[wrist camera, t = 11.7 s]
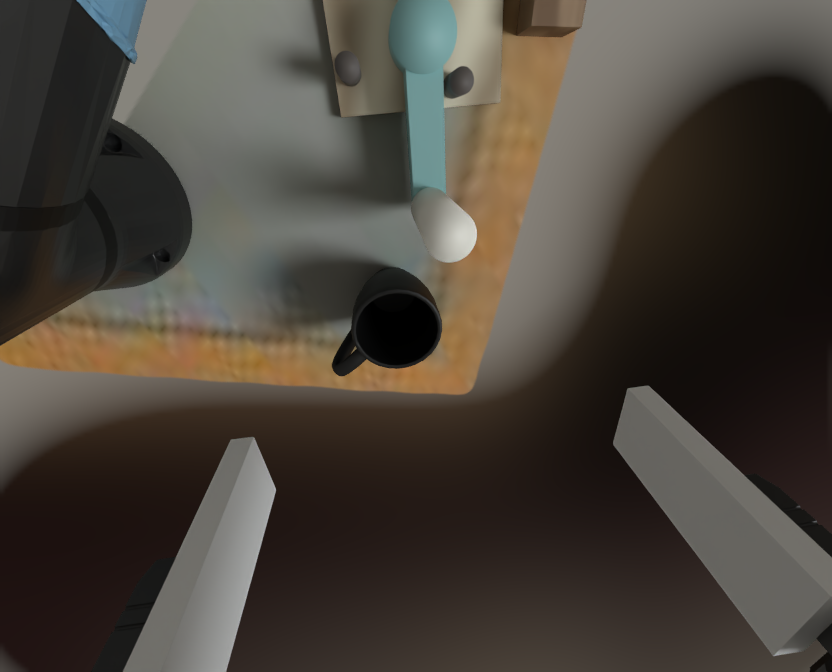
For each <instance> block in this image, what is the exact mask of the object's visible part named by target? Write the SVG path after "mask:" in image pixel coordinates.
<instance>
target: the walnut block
mask: <svg viewBox="0 0 832 672" xmlns="http://www.w3.org/2000/svg"><path fill="white" fill-rule="evenodd" d="M585 5H586V0H520V8H519V17H518V26H517V35H516V36H539V37H563V36H565V35H567V34H569V33H571V32H573V31H575V30H577V29H579V28H581V27H582V22H583V16H584V11H585Z"/></svg>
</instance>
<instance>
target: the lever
mask: <svg viewBox="0 0 832 672" xmlns="http://www.w3.org/2000/svg"><path fill="white" fill-rule="evenodd" d="M456 39H457V21H456V17H455V13H454V10H453V8H452V6H451V4H450V2H449V1H448V0H398V2H397V3H396V5H395V7H394V10H393V12H392V16H391V20H390V27H389V35H388V44H389V50H390V54H391V57H392V59H393V61H394V63H395V65H396V66H397V67H398V69H399V70H400V71H401V72H402V73H403V78H404V93H405V108H406V123H407V138H408V154H409V169H410V184H411V199H412V204H411V212H412V215H413V218H414V220H415V222H416V225H417V227H418V229H419V232H420V234H421V236H422V239H423V241H424V243H425V245H426V248H427V250H428V252H429V253H430V254H431V255H432V256H433V257H434V258H435V259H437V260H439V261H442V262H447V263H450V262H456V261H459V260H461V259H463V258H464V257H466V256H467V255H468V254H469V253H470V252H471V251H472V249H473V247H474V245H475V243H476V239H477V230H476V226H475V223H474V221H473V220H472V218H471V217H470V216H469V215H468V214H467V213H466V212H465V211H463V210H462V209H461V208H460V207H459V206H458V205H457V204H456V203H455V202H454V201H453V200H451V199H450V198H449V197H448V196H447V195H446V178H445V130H444V83H443V65H444V64H445V63H446V62H447V61H448V60H449V58H450V56H451V55H452V53H453V50H454V47H455V44H456Z"/></svg>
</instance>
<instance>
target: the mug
mask: <svg viewBox="0 0 832 672" xmlns="http://www.w3.org/2000/svg"><path fill="white" fill-rule="evenodd" d="M441 332H442V320H441V317H440V314H439V311H438V308H437V305H436V303H435V300H434V298H433V296H432V295H431V293H430V291H429V290H428V288H427V287H426V286H425V285H424V284H423V283H422V282H421V281H420V280H419V279H418V278H417V277H415V276H414V275H412V274H410V273H409V272H407V271H405V270H403V269H400V268H386V269H383V270H381V271H379V272H378V273H376V274H375V275H374V276H373V277H372V278H371V279H370V280H369V281H368V282H367V283H366V284H365V285H364V287H363V288H362V290H361V291H360V293H359V295H358V297H357V299H356V302H355V305H354V309H353V316H352V326H351V330H350V332H349V333H348V335H347V336H346V338H345V340H344V341H343V343H342V344H341V346H340V348H339V349H338V351H337V353H336V355H335V357H334V359H333V362H332V368H333V371H334V372H335V373H336V374H337V375H339V376H345V375H347V374H349V373H350V372H352V371H353V370H355V369H356V368H357V367H358V366H359V365H361V364H362V363H363V362H364V361H365V360H366V359H367V360H369V361H370V362H372V363H374V364H376V365H378V366H382V367H386V368H396V369H397V368H405V367H409V366H412V365H416V364H417V363H419V362H421V361H423V360H424V359H426V358H427V357H428V356H429V355H430V354H431V353H432V352H433V351H434V349H435V348H436V346H437V344H438V342H439V340H440V337H441ZM355 346H356V348H357V349H356V350H355V351H354V352H353V353H352V351H353V349H354V347H355ZM351 353H352V354H351ZM350 354H351V355H350Z"/></svg>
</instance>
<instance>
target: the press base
mask: <svg viewBox="0 0 832 672" xmlns="http://www.w3.org/2000/svg"><path fill="white" fill-rule="evenodd" d="M448 1H449V2H450V4H451V6H452V8H453V10H454V13H455V17H456V21H457V39H456V44H455V47H454V50H453V53H452V55H451V56H450V58H449V60H448V61H447V62H446V63H445V64H444V65H443V83H444V108H451V107H462V106H473V105H484V104H494V103H500V95H501V61H502V27H503V0H448ZM397 2H398V0H323V5H324V11H325V18H326V24H327V30H328V37H329V43H330V49H331V56H332V62H333V68H334V75H335V81H336V87H337V94H338V100H339V106H340V112H341V117H342V118H343V117H354V116H364V115H375V114H386V113H397V112H406V108H405V93H404V78H403V73H402V72H401V71H400V70H399V69H398V67H397V66H396V65H395V63H394V61H393V59H392V57H391V54H390V50H389V44H388V35H389V27H390V20H391V16H392V12H393V10H394V7H395V5H396V3H397Z"/></svg>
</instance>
